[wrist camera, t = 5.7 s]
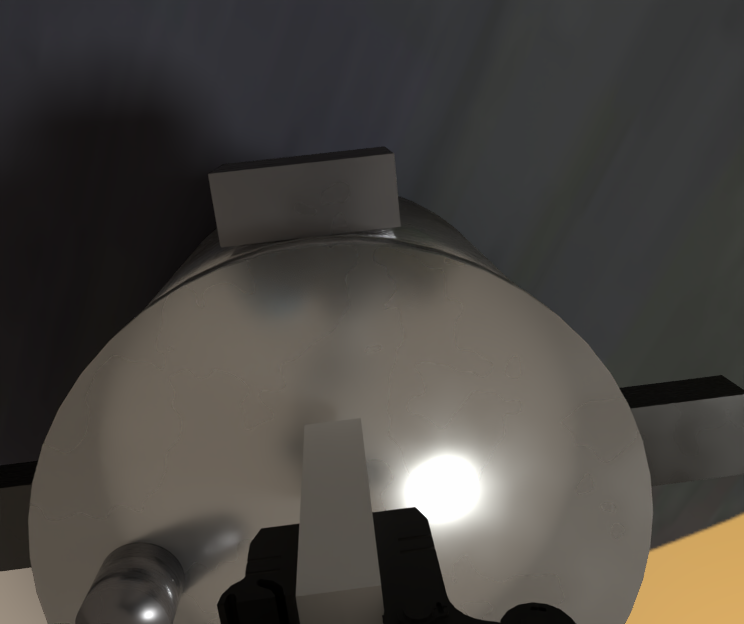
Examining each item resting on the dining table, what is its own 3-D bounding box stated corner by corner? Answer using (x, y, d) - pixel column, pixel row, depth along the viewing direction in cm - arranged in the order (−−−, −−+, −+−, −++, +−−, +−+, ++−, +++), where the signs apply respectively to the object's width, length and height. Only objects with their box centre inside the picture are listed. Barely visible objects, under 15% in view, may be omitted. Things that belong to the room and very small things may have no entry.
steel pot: (-8, 175, 29) (-221, 222, 18) (615, 106, 30) (795, 109, 19) (92, 552, 35) (-20, 774, 23) (614, 484, 36) (751, 665, 24)
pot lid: (635, 798, 25) (680, 894, 22) (134, 872, 24) (106, 982, 21) (634, 201, 19) (694, 216, 16) (-25, 277, 18) (-95, 308, 15)
